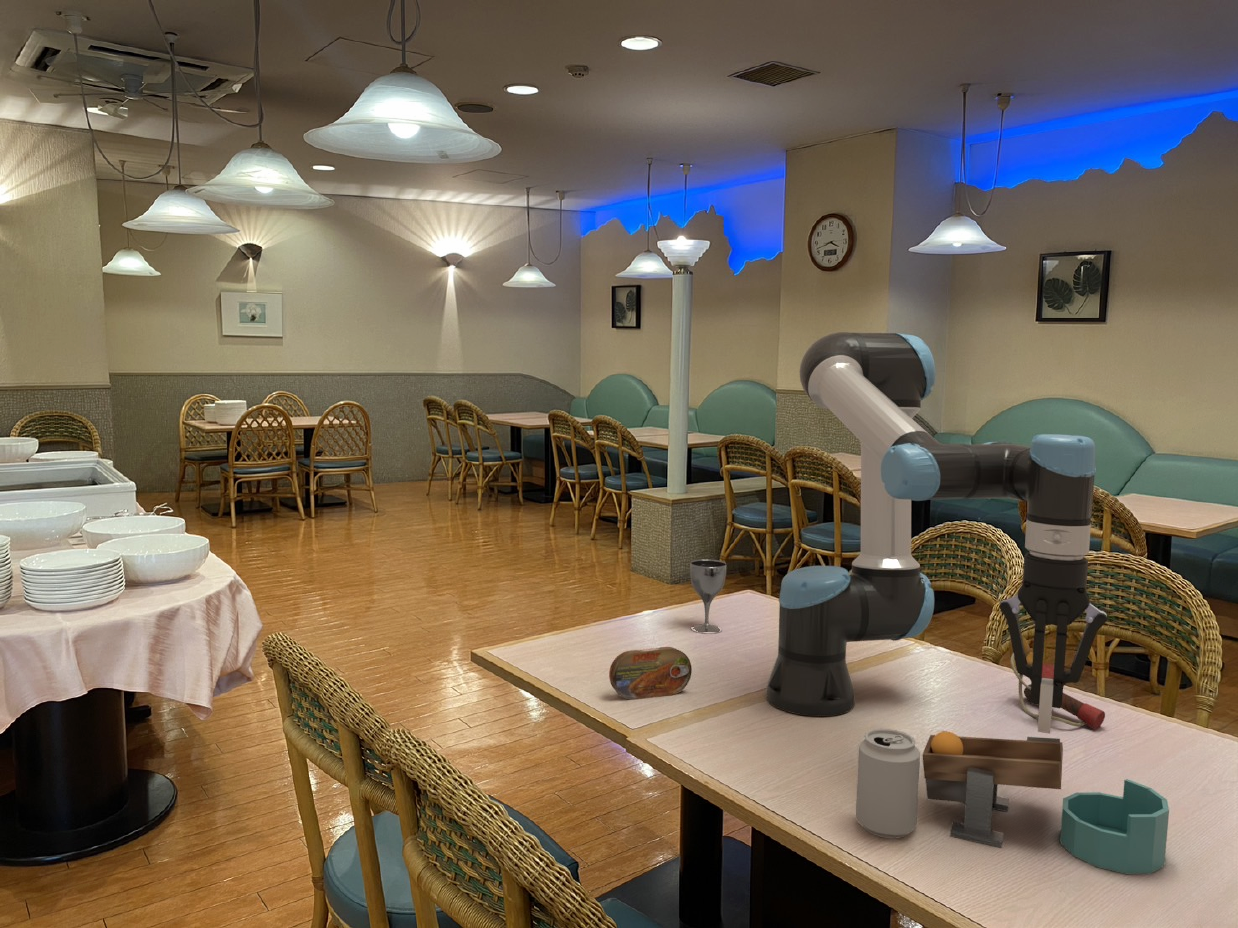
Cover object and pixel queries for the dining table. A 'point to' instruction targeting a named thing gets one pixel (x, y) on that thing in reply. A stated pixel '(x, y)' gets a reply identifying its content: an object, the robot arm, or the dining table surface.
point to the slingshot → (1070, 704)
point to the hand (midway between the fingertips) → (1044, 728)
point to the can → (887, 783)
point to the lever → (993, 765)
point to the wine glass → (707, 586)
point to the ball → (947, 744)
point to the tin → (650, 673)
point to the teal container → (1117, 829)
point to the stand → (980, 809)
